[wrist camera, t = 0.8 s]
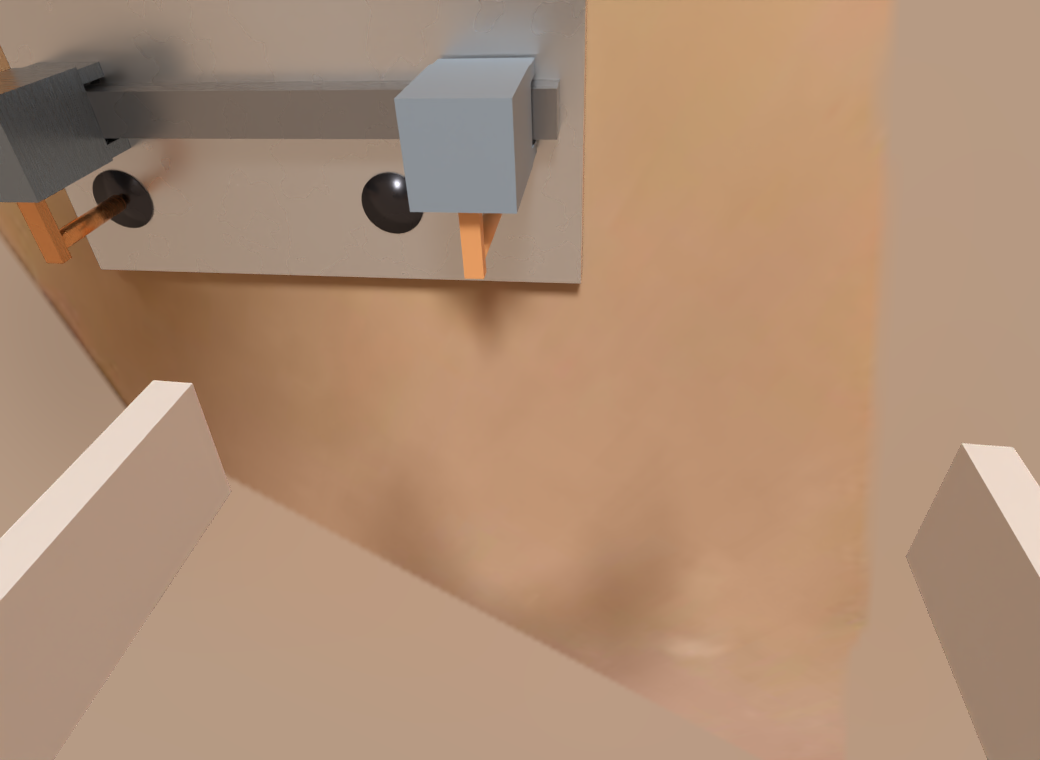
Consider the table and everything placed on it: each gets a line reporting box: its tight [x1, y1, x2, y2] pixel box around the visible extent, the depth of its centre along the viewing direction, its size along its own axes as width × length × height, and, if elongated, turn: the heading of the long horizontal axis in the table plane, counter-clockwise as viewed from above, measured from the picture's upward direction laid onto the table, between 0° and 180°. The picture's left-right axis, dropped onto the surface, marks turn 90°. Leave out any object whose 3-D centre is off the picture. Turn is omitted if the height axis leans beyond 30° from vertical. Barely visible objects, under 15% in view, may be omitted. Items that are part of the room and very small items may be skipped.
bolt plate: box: [0, 0, 587, 284], centre depth 29 cm, size 14×26×8 cm, turn 92°
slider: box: [394, 58, 537, 279], centre depth 27 cm, size 7×4×6 cm, turn 2°
